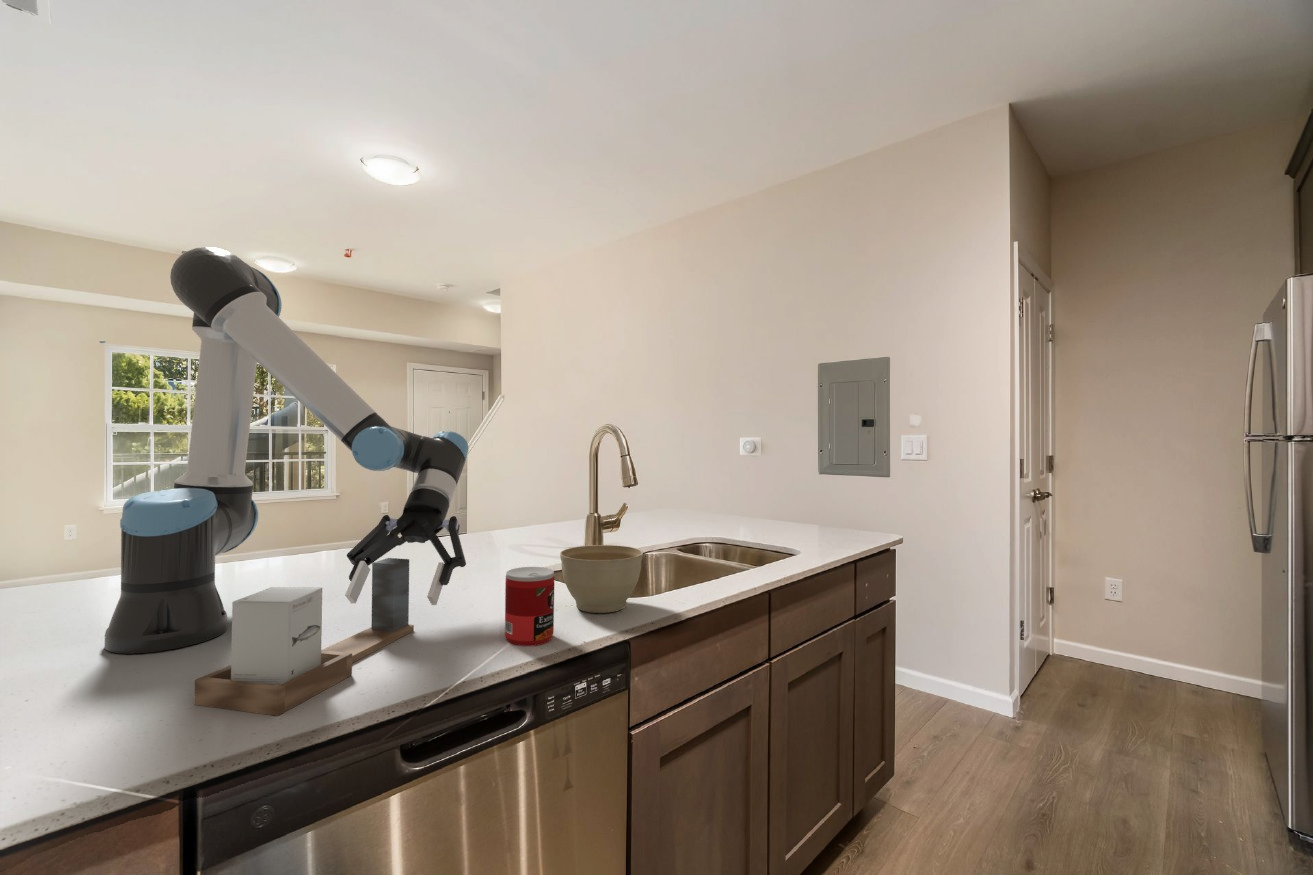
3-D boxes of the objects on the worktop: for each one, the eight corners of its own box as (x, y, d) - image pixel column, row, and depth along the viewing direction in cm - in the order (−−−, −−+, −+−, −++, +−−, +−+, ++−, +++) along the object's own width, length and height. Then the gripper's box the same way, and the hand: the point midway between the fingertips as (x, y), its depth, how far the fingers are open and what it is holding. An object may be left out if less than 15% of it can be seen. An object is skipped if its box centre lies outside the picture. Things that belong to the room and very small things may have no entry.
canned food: (542, 648, 91) (543, 578, 91) (495, 644, 93) (496, 575, 93) (560, 632, 99) (561, 568, 99) (516, 629, 100) (517, 565, 100)
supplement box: (287, 704, 71) (289, 601, 71) (228, 703, 71) (229, 600, 71) (323, 679, 79) (324, 586, 79) (268, 678, 79) (270, 585, 79)
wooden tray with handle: (194, 704, 70) (195, 605, 70) (367, 626, 100) (367, 556, 100) (277, 715, 68) (279, 613, 68) (429, 632, 97) (430, 560, 97)
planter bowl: (655, 601, 118) (656, 548, 118) (618, 624, 103) (619, 563, 103) (586, 592, 125) (587, 541, 125) (542, 612, 110) (543, 554, 110)
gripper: (499, 512, 113) (471, 612, 98) (372, 510, 114) (326, 609, 99) (490, 487, 108) (460, 589, 93) (358, 485, 108) (306, 586, 93)
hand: (390, 600), depth 96 cm, fingers open, 13 cm apart
